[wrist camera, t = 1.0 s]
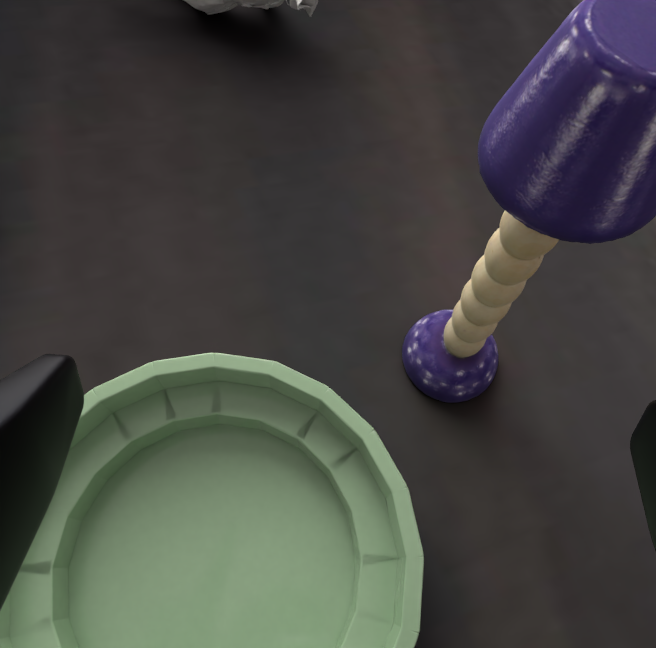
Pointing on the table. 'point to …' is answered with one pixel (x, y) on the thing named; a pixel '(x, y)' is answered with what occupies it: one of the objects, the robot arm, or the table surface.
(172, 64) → the table surface
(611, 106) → the toy lamp
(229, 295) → the table surface
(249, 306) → the table surface
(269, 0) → the white figurine
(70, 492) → the bowl
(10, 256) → the table surface
